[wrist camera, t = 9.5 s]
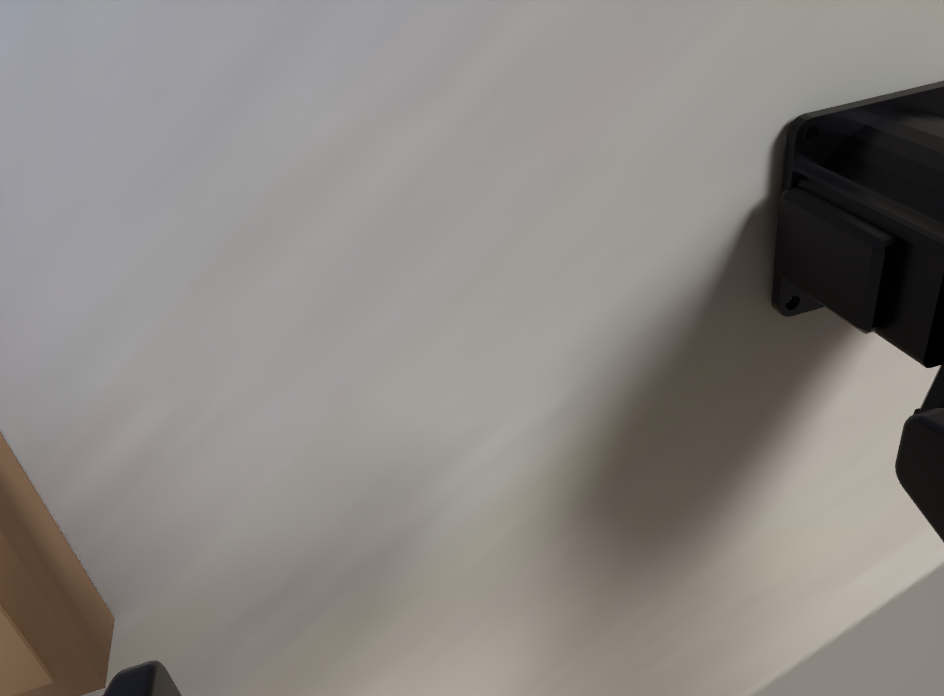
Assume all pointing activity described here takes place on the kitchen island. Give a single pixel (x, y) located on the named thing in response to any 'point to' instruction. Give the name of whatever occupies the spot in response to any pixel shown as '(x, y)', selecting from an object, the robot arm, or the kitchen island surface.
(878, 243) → the robot arm
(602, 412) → the kitchen island surface
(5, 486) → the base block
